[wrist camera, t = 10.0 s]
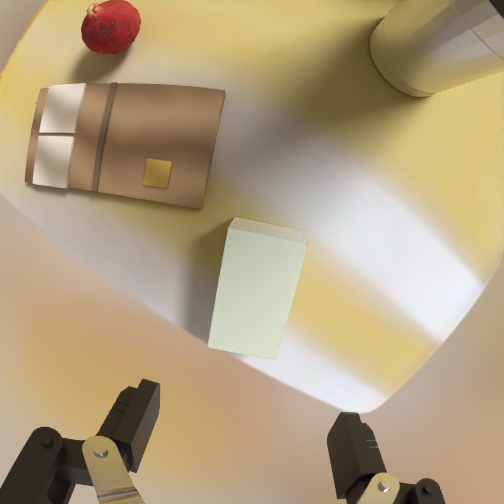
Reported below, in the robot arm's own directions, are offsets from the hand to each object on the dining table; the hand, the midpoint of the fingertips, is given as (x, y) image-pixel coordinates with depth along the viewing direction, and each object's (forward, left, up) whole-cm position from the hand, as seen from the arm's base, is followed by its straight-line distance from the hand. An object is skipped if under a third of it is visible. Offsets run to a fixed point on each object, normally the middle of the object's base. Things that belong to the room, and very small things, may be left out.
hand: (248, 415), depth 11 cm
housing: (0, 0, -18) cm, 18 cm away
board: (-11, -17, -18) cm, 27 cm away
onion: (-22, -18, -18) cm, 34 cm away
